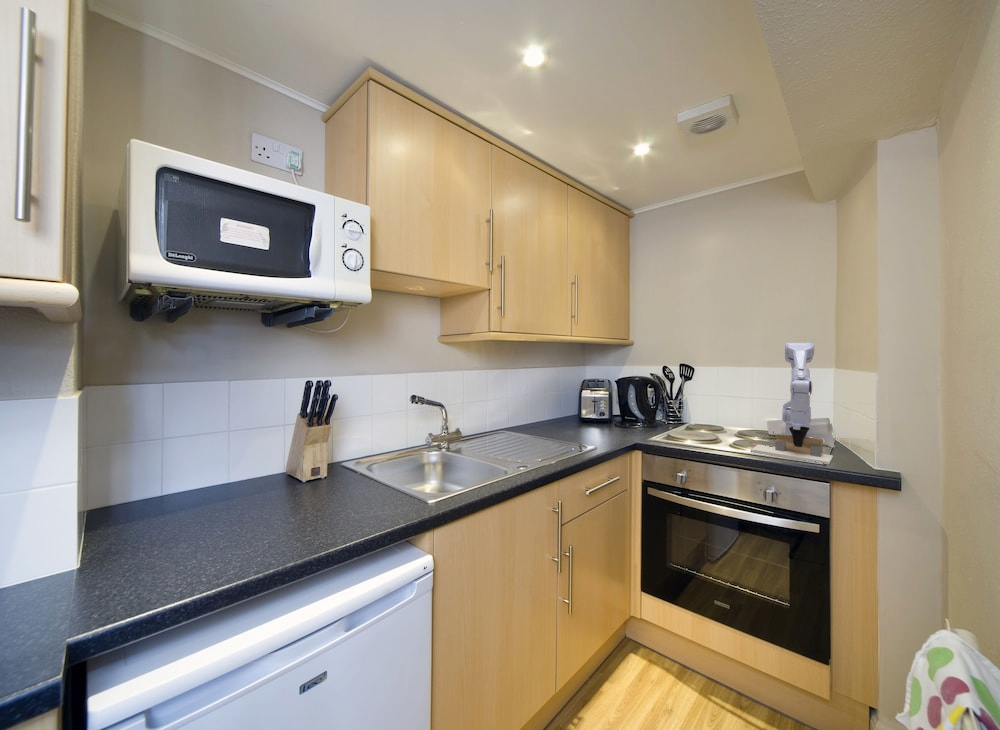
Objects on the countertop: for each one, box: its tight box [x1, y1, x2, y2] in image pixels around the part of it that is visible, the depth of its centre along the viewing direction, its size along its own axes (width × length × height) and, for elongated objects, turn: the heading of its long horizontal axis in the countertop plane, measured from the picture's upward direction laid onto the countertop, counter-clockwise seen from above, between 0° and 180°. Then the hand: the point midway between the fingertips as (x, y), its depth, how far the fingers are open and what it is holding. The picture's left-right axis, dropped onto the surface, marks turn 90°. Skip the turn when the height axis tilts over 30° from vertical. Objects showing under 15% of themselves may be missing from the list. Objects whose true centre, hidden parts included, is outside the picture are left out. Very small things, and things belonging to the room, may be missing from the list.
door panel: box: [775, 434, 824, 456], centre depth 154 cm, size 2×14×6 cm, turn 46°
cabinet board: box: [750, 441, 834, 465], centre depth 154 cm, size 13×24×4 cm, turn 46°
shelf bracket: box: [766, 417, 835, 449], centre depth 180 cm, size 6×25×13 cm, turn 25°
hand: (798, 446), depth 154 cm, fingers closed on door panel, 2 cm apart
